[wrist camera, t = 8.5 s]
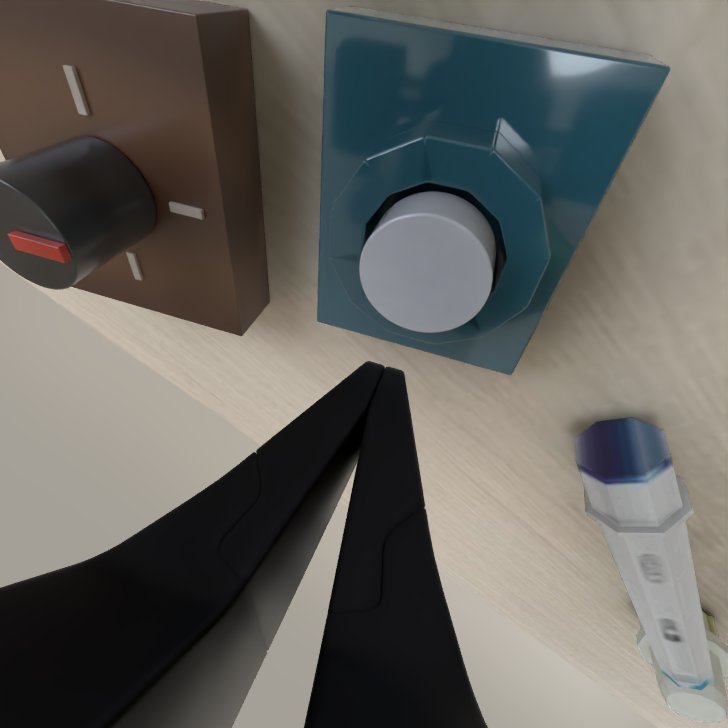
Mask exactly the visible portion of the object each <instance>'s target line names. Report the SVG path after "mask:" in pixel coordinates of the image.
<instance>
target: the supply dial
mask: <svg viewBox="0 0 728 728" xmlns="http://www.w3.org/2000/svg"><path fill="white" fill-rule="evenodd" d="M155 221H156V208H155V203H154V200H153V197H152V194H151V192H150V189H149V187H148V185H147V183H146V182H145V180H144V178H143V177H142V175H141V174H140V172H139V171H138V170H137V168H136V167H135V166H134V165H133V164H132V163H131V161H130V160H129V159H128V158H127V157H126V156H125V155H123V154H122V153H121V152H120V151H119V150H117V149H116V148H114V147H113V146H112V145H110V144H108V143H106V142H105V141H102V140H100V139H97V138H94V137H90V136H77V137H73V138H70V139H67V140H64V141H61V142H58V143H56V144H53V145H50V146H47V147H44V148H41V149H38V150H35V151H32V152H29V153H26V154H23V155H20V156H17V157H15V158H12V159H9V160H6V161H3V162H0V260H1V261H2V262H3V263H4V264H6V265H7V266H8V267H9V268H11V269H12V270H13V271H15V272H16V273H18V274H19V275H21V276H22V277H24V278H25V279H27V280H29V281H31V282H33V283H35V284H37V285H40V286H43V287H45V288H50V289H57V290H58V289H66V288H69V287H71V286H72V285H74V284H75V283H77V282H78V281H80V280H81V279H83V278H84V277H86V276H87V275H89V274H90V273H92V272H93V271H95V270H97V269H98V268H100V267H101V266H103V265H104V264H106V263H107V262H109V261H110V260H112V259H113V258H115V257H116V256H118V255H119V254H121V253H122V252H124V251H125V250H127V249H128V248H130V247H131V246H133V245H134V244H136V243H137V242H139V241H140V240H142V239H143V238H145V237H146V236H148V235H149V234H150V233H151V231H152V230H153V228H154V225H155Z"/></svg>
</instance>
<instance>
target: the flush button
mask: <svg viewBox="0 0 728 728" xmlns="http://www.w3.org/2000/svg"><path fill="white" fill-rule="evenodd" d="M495 259H496V243H495V237H494V234H493V231H492V229H491V227H490V224H489V223H488V221H487V220H486V218H485V217H484V215H483V214H482V213H481V212H480V211H479V210H478V209H477V208H476V207H475V206H473V205H472V204H471V203H469V202H468V201H466V200H464V199H462V198H460V197H458V196H456V195H452V194H449V193H444V192H435V191H428V192H420V193H416V194H412V195H410V196H407V197H405V198H403V199H401V200H400V201H398V202H396V203H395V204H394V205H393V206H391V207H390V208H389V209H388V210H387V211H386V213H385V214H384V215H383V217H382V218H381V220H380V221H379V223H378V224H377V226H376V227H375V229H374V230H373V232H372V234H371V235H370V237H369V238H368V240H367V242H366V244H365V246H364V247H363V250H362V253H361V257H360V263H359V272H360V280H361V284H362V287H363V290H364V292H365V294H366V296H367V298H368V300H369V301H370V302H371V304H372V305H373V306H374V308H375V309H376V310H377V311H378V312H379V313H380V314H381V315H383V316H384V317H385V318H387V319H388V320H389V321H391V322H393V323H394V324H396V325H398V326H401V327H403V328H406V329H409V330H413V331H417V332H426V333H434V332H443V331H447V330H451V329H454V328H457V327H459V326H461V325H463V324H465V323H466V322H468V321H469V320H471V319H472V318H473V317H474V316H475V315H476V314H477V313H478V312H479V311H480V310H481V309H482V307H483V306H484V304H485V303H486V301H487V299H488V297H489V294H490V291H491V288H492V281H493V273H494V266H495Z"/></svg>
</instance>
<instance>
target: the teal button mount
mask: <svg viewBox="0 0 728 728" xmlns="http://www.w3.org/2000/svg"><path fill="white" fill-rule="evenodd" d="M669 72H670V67H669V66H668V65H666V64H664V63H663V62H661V61H660V60H658V59H656V58H655V57H653V56H652V55H646V54H640V53H634V52H628V51H622V50H616V49H610V48H604V47H598V46H592V45H585V44H579V43H573V42H567V41H561V40H555V39H549V38H543V37H537V36H531V35H525V34H519V33H512V32H506V31H500V30H494V29H488V28H482V27H476V26H470V25H464V24H458V23H452V22H446V21H439V20H433V19H427V18H421V17H415V16H409V15H403V14H397V13H391V12H385V11H379V10H373V9H367V8H360V7H354V6H349V7H342V8H335V9H329V10H327V12H326V31H325V66H324V100H323V135H322V169H321V204H320V238H319V273H318V308H317V321H318V322H321V323H324V324H328V325H332V326H335V327H339V328H342V329H346V330H350V331H353V332H357V333H360V334H364V335H368V336H371V337H375V338H378V339H382V340H386V341H389V342H393V343H396V344H400V345H404V346H407V347H411V348H414V349H418V350H422V351H425V352H429V353H432V354H436V355H439V356H443V357H447V358H450V359H454V360H457V361H461V362H465V363H468V364H472V365H475V366H479V367H483V368H486V369H490V370H493V371H497V372H501V373H504V374H508V375H512V373H513V372H514V370H515V368H516V366H517V364H518V362H519V360H520V358H521V356H522V354H523V352H524V350H525V348H526V347H527V345H528V343H529V341H530V339H531V337H532V335H533V333H534V331H535V329H536V327H537V325H538V323H539V322H540V320H541V318H542V316H543V314H544V312H545V310H546V308H547V306H548V304H549V302H550V300H551V298H552V297H553V295H554V293H555V291H556V289H557V287H558V285H559V283H560V281H561V279H562V277H563V275H564V273H565V272H566V270H567V268H568V266H569V264H570V262H571V260H572V258H573V256H574V254H575V252H576V250H577V248H578V247H579V245H580V243H581V241H582V239H583V237H584V235H585V233H586V231H587V229H588V227H589V225H590V223H591V222H592V220H593V218H594V216H595V214H596V212H597V210H598V208H599V206H600V204H601V202H602V200H603V198H604V197H605V195H606V193H607V191H608V189H609V187H610V185H611V183H612V181H613V179H614V177H615V175H616V173H617V172H618V170H619V168H620V166H621V164H622V162H623V160H624V158H625V156H626V154H627V152H628V150H629V148H630V147H631V145H632V143H633V141H634V139H635V137H636V135H637V133H638V131H639V129H640V127H641V125H642V123H643V122H644V120H645V118H646V116H647V114H648V112H649V110H650V108H651V106H652V104H653V102H654V100H655V98H656V97H657V95H658V93H659V91H660V89H661V87H662V85H663V83H664V81H665V79H666V77H667V75H668V73H669ZM428 191H435V192H444V193H449V194H452V195H456V196H458V197H460V198H462V199H464V200H466V201H468V202H469V203H471V204H472V205H473V206H475V207H476V208H477V209H478V210H479V211H480V212H481V213H482V214H483V215H484V217H485V218H486V220H487V221H488V223H489V224H490V227H491V229H492V231H493V234H494V237H495V243H496V259H495V266H494V273H493V281H492V288H491V291H490V294H489V297H488V299H487V301H486V303H485V304H484V306H483V307H482V309H481V310H480V311H479V312H478V313H477V314H476V315H475V316H474V317H473V318H472V319H471V320H469V321H468V322H466V323H465V324H463V325H461V326H459V327H457V328H454V329H451V330H447V331H443V332H434V333H426V332H417V331H413V330H409V329H406V328H403V327H401V326H398V325H396V324H394V323H393V322H391V321H389V320H388V319H387V318H385V317H384V316H383V315H381V314H380V313H379V312H378V311H377V310H376V309H375V308H374V306H373V305H372V304H371V302H370V301H369V300H368V298H367V296H366V294H365V292H364V290H363V287H362V284H361V280H360V272H359V263H360V257H361V253H362V250H363V247H364V246H365V244H366V242H367V240H368V238H369V237H370V235H371V234H372V232H373V230H374V229H375V227H376V226H377V224H378V223H379V221H380V220H381V218H382V217H383V215H384V214H385V213H386V211H387V210H388V209H389V208H390V207H391V206H393V205H394V204H395V203H396V202H398V201H400V200H401V199H403V198H405V197H407V196H410V195H412V194H416V193H420V192H428Z"/></svg>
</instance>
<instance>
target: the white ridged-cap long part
mask: <svg viewBox="0 0 728 728" xmlns="http://www.w3.org/2000/svg"><path fill="white" fill-rule="evenodd" d="M575 458H576V463H577V466H578V469H579V472H580V474H581V477H582V480H583V483H584V495H585V510H586V513H587V515H588V516H589V517H591V518H592V519H593V520H595V521H596V522H598V523H599V525H600V527H601V530H602V532H603V535H604V537H605V539H606V542H607V544H608V546H609V549H610V551H611V553H612V556H613V558H614V560H615V563H616V565H617V568H618V570H619V572H620V575H621V577H622V579H623V582H624V584H625V586H626V589H627V591H628V593H629V596H630V598H631V601H632V603H633V605H634V608H635V610H636V612H637V615H638V617H639V619H640V626H641V629H640V631H639V632H638V633H637V635H636V637H637V644H638V647H639V650H640V653H641V655H642V657H643V658H644V659H645V660H646V661H647V662H649V663H650V664H651V665H652V666H654V669H655V673H656V677H657V681H658V685H659V688H660V691H661V694H662V696H663V698H664V699H665V701H666V703H667V705H668V706H669V707H670V708H671V709H672V710H674V711H675V712H676V713H677V714H680V715H682V716H684V717H686V718H689V719H691V720H695V721H700V722H705V723H715V722H721V721H722V720H723V719H725V718H726V717H727V712H728V701H727V695H726V690H725V685H724V679H725V678H726V677H728V646H727V645H726V644H725V643H724V642H723V641H721V640H720V639H719V635H718V632H717V628H716V625H715V621H714V618H713V616H708V615H707V614H705V613H704V612H703V611H702V610H701V604H700V599H699V593H698V587H697V582H696V576H695V570H694V565H693V559H692V554H691V548H690V542H689V537H688V531H687V526H686V520H687V519H688V518H690V517H691V516H692V515H693V514H694V513H693V508H692V505H691V502H690V499H689V495H688V492H687V489H686V486H685V483H684V479H683V478H681V477H679V476H677V475H675V471H674V467H673V463H672V459H671V454H670V451H669V448H668V444H667V441H666V437H665V434H664V431H663V429H660V428H657V427H655V426H652V425H650V424H647V423H645V422H642V421H639V420H637V419H634V418H625V419H617V420H609V421H600V422H596V423H595V424H594V425H592V426H591V427H590V428H588V429H587V430H586V431H584V432H583V433H582V434H580V435H579V436H578V437H576V438H575Z"/></svg>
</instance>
